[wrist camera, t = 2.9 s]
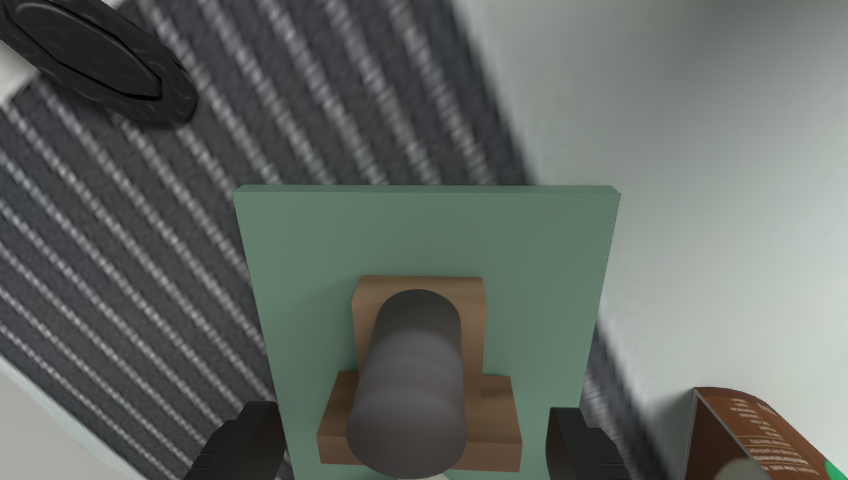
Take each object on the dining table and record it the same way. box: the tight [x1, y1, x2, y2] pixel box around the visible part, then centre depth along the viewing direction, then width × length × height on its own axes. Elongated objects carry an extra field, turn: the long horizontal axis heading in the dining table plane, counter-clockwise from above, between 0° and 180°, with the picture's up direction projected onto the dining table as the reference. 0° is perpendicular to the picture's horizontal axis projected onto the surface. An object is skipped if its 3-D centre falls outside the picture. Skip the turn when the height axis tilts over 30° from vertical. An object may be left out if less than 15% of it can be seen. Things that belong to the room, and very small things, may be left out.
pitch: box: [232, 185, 621, 480], centre depth 22 cm, size 28×15×1 cm, turn 1°
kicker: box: [316, 275, 523, 479], centre depth 15 cm, size 7×8×7 cm
